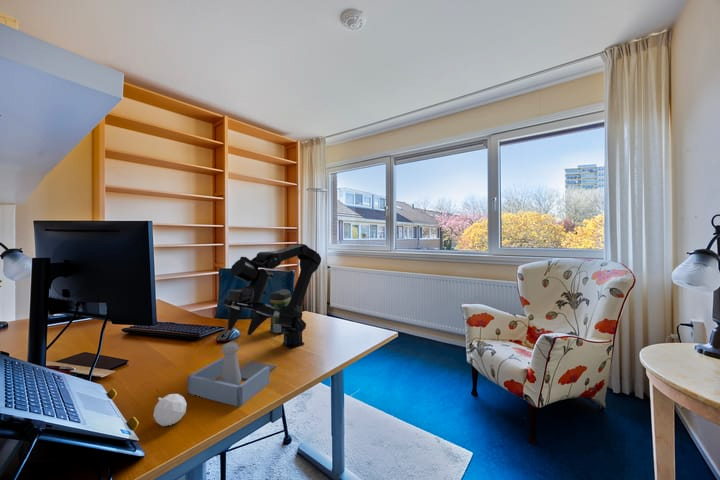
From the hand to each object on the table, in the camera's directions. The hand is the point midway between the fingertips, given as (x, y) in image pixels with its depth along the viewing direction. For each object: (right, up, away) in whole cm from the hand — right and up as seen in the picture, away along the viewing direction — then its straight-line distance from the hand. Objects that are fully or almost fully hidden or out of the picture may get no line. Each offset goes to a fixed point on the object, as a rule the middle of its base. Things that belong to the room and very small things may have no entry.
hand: (238, 332), depth 94 cm
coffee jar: (+3, -12, +39) cm, 41 cm away
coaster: (+5, -13, +1) cm, 14 cm away
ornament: (-6, -14, -24) cm, 29 cm away
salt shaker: (+1, -14, -9) cm, 16 cm away
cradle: (+1, -13, -9) cm, 16 cm away
